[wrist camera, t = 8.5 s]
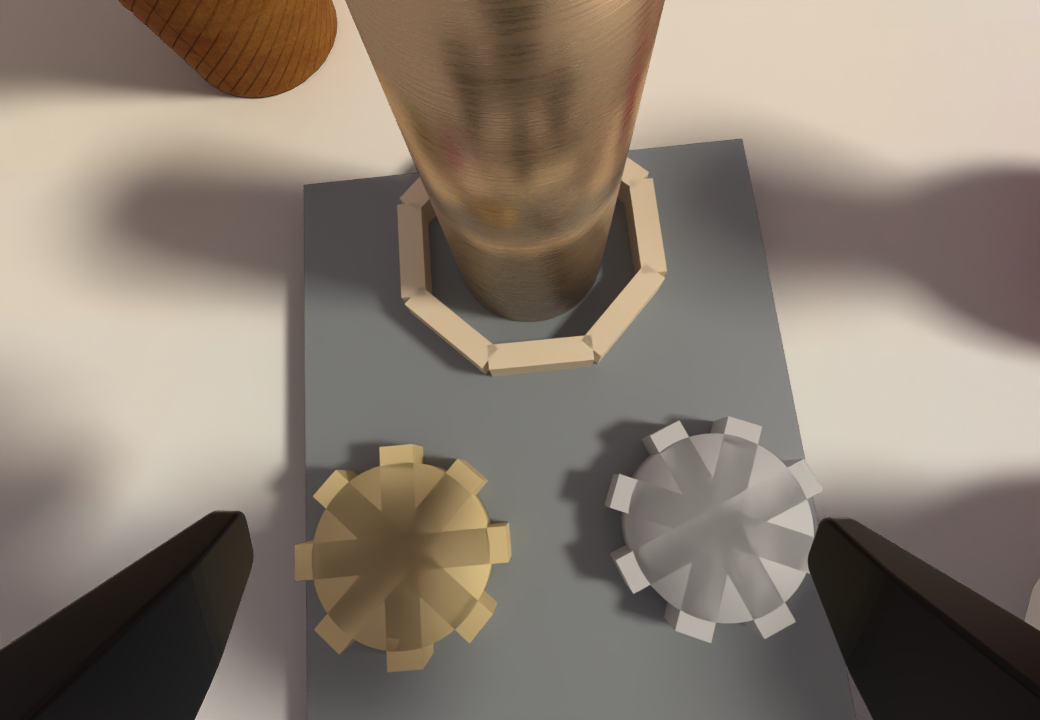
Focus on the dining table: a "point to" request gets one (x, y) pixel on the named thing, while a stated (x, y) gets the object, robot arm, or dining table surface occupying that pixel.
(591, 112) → the metal can
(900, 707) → the robot arm
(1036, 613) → the honey pot
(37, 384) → the dining table surface
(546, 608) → the gear board
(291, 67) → the disposable coffee cup
